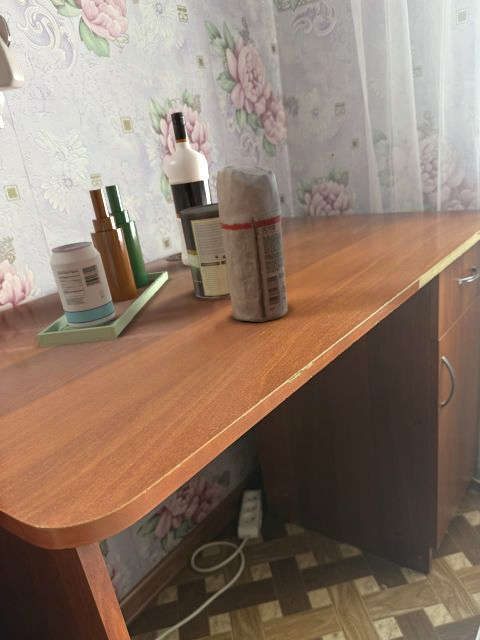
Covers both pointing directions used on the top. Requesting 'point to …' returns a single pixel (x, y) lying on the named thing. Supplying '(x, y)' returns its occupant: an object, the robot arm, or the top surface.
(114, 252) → the amber bottle
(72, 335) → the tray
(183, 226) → the coffee can
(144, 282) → the green bottle
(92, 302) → the beverage can
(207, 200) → the vodka
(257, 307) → the spray can
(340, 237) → the top surface
